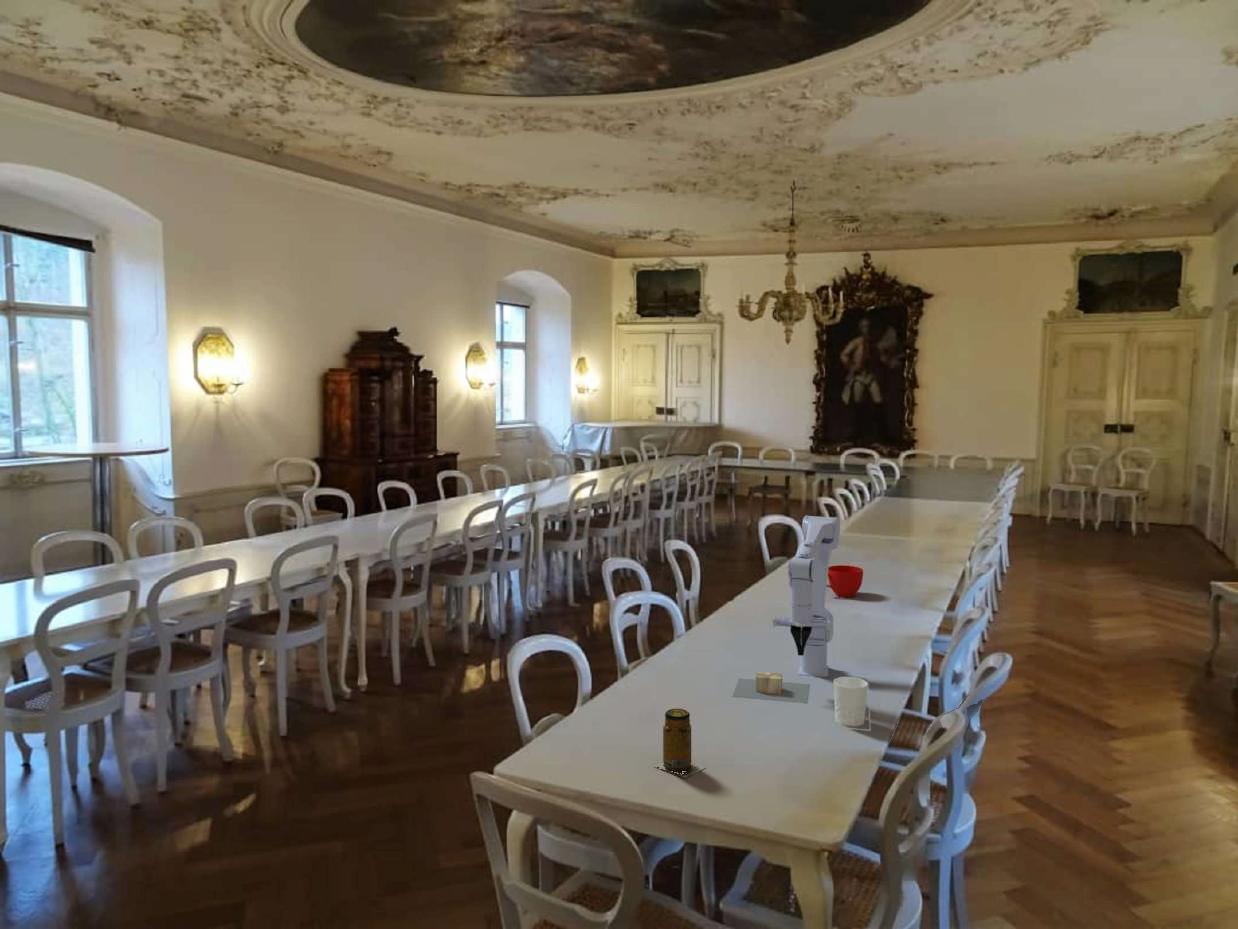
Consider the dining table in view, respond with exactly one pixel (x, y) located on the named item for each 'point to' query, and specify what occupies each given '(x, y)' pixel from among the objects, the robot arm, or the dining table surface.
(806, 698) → the rubber mat
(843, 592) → the ceramic cup
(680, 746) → the condiment
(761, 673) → the maple block
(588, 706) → the dining table surface
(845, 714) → the white cup
